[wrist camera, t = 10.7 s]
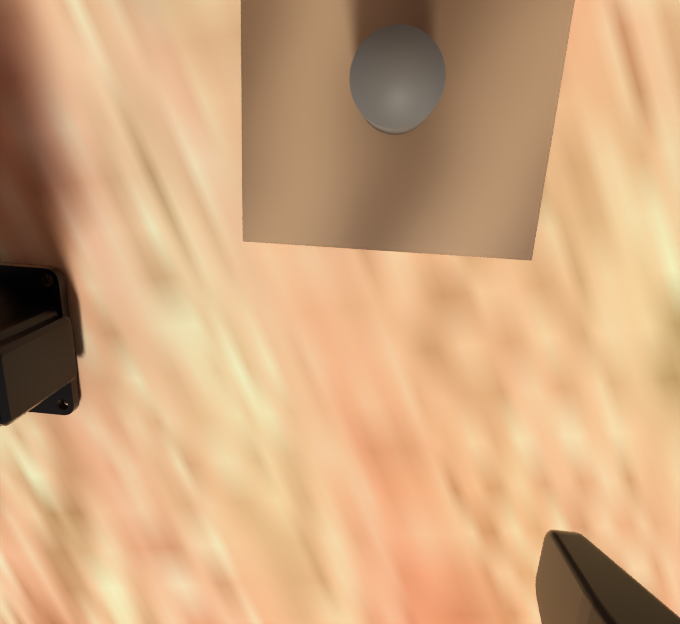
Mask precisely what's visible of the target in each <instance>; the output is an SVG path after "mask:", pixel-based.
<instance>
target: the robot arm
mask: <svg viewBox="0 0 680 624" xmlns="http://www.w3.org/2000/svg"><path fill="white" fill-rule="evenodd" d="M47 275H49V276H50V277H51V278H52V280H53V284H51V283H50V282H49V281H48V279H47ZM76 376H77V366H76V357H75V349H74V340H73V332H72V323H71V321H70V318H69V310H68V301H67V293H66V284H65V278H64V275H63V273H62V272H61V270H59V269H58V268H56V267H53V266H42V265H28V264H14V263H1V262H0V426H2V425H3V426H7V425H9V424H11V423H12V422H14V421H15V420H16V419H18V418H19V417H21V416H22V415H24V414H25V413H26V412H37V413H48V414H58V415H69V414H70V413H72V412H73V411H74V410H76V409H77V408H78V406H79V395H78V386H77V378H76ZM63 400H65V401H66V402H67V403H68V405H66V404H65V403H64V402H63ZM536 596H537V602H538V607H539V612H540V617H541V622H542V624H680V617H679V616H677V615H676V614H675V613H674V612H673V611H672V610H670V609H669V608H668V607H667V606H666V605H664V604H663V603H662V602H661V601H660V600H659V599H657V598H656V597H655V596H654V595H653V594H651V593H650V592H649V591H648V590H647V589H646V588H644V587H643V586H642V585H641V584H640V583H638V582H637V581H636V580H635V579H634V578H633V577H631V576H630V575H629V574H628V573H627V572H626V571H624V570H623V569H622V568H621V567H620V566H618V565H617V564H616V563H615V562H614V561H613V560H611V559H610V558H609V557H608V556H607V555H605V554H604V553H603V552H602V551H601V550H600V549H598V548H597V547H596V546H595V545H594V544H592V543H591V542H590V541H589V540H588V539H587V538H585V537H584V536H583V535H581V534H579V533H576V532H569V531H559V530H550V531H549V532H547V534H546V536H545V538H544V542H543V547H542V551H541V556H540V561H539V566H538V571H537V575H536Z"/></svg>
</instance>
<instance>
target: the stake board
mask: <svg viewBox="0 0 680 624" xmlns="http://www.w3.org/2000/svg"><path fill="white" fill-rule="evenodd" d="M574 1H575V0H241V79H242V197H243V241H245V242H260V243H276V244H291V245H306V246H321V247H336V248H351V249H366V250H381V251H396V252H412V253H427V254H442V255H457V256H472V257H487V258H502V259H517V260H532V255H533V249H534V243H535V237H536V231H537V225H538V219H539V212H540V206H541V200H542V194H543V188H544V182H545V176H546V170H547V164H548V158H549V152H550V146H551V140H552V134H553V128H554V122H555V116H556V110H557V104H558V98H559V92H560V86H561V80H562V74H563V68H564V62H565V56H566V50H567V43H568V37H569V31H570V25H571V19H572V13H573V7H574Z"/></svg>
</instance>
